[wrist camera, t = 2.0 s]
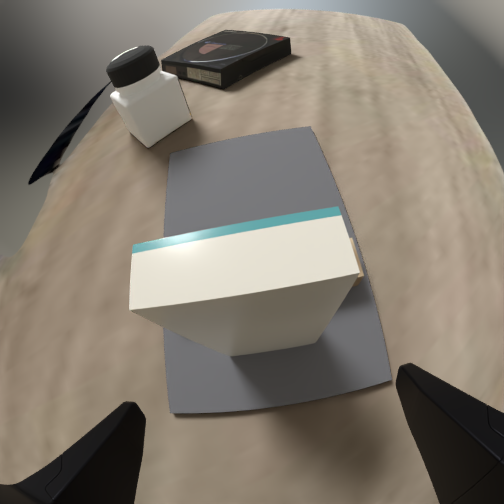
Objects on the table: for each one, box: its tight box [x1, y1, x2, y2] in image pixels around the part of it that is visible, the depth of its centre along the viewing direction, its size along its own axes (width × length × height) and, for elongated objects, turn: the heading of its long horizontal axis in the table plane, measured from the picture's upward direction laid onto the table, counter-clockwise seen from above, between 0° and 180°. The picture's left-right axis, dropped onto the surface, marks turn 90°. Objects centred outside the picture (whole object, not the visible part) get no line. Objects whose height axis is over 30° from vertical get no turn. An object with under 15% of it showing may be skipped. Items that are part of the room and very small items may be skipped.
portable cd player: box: [161, 30, 291, 89], centre depth 39 cm, size 16×17×4 cm
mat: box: [163, 126, 392, 413], centre depth 22 cm, size 26×16×1 cm, turn 7°
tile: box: [129, 206, 360, 357], centre depth 13 cm, size 2×6×13 cm, turn 97°
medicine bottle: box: [106, 46, 192, 148], centre depth 27 cm, size 7×7×12 cm
